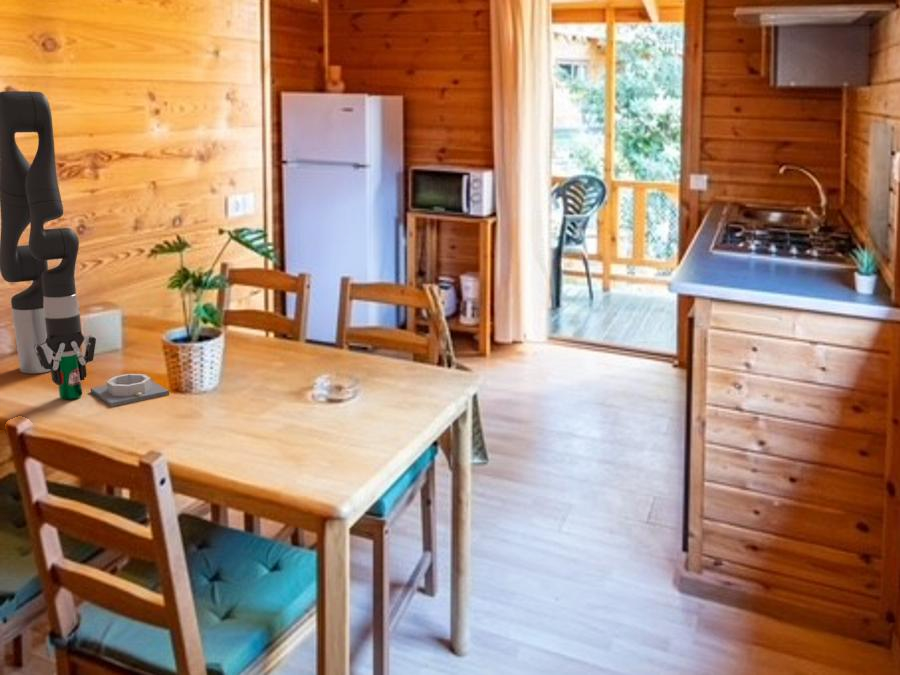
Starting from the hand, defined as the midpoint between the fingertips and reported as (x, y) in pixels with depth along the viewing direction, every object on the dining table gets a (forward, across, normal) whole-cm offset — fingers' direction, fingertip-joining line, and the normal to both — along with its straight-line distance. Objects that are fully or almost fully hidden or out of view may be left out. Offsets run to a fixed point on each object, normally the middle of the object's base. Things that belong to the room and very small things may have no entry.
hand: (69, 381), depth 206 cm
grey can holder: (+4, -12, +6) cm, 14 cm away
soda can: (+4, 0, 0) cm, 4 cm away
